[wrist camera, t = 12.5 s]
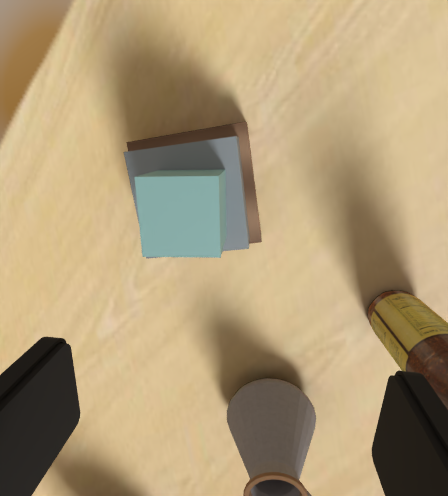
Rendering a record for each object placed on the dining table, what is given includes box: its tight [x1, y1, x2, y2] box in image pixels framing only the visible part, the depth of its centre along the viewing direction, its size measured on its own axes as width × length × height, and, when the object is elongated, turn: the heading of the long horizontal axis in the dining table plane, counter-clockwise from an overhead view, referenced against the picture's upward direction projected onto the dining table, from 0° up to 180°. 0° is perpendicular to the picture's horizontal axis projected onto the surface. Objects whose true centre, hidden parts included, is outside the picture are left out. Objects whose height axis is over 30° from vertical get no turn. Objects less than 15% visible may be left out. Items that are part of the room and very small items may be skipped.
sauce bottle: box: [368, 291, 448, 410], centre depth 29 cm, size 6×6×20 cm
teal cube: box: [135, 169, 227, 258], centre depth 26 cm, size 6×6×6 cm
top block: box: [124, 136, 250, 258], centre depth 31 cm, size 10×10×4 cm
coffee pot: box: [227, 378, 316, 496], centre depth 38 cm, size 21×12×15 cm, turn 53°
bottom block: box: [127, 122, 262, 244], centre depth 35 cm, size 12×12×4 cm
